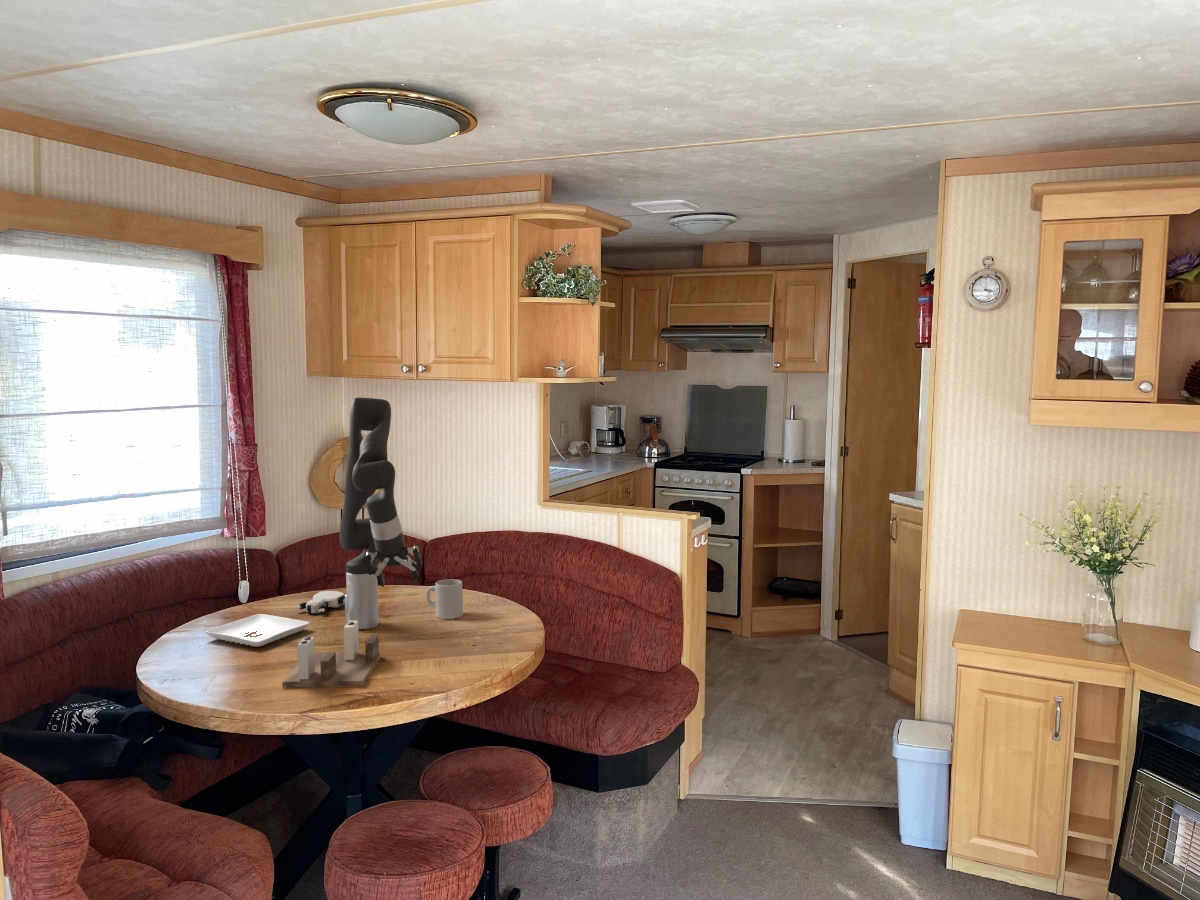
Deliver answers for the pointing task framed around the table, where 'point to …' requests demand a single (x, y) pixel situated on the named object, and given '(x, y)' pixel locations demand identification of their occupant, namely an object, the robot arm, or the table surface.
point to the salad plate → (257, 629)
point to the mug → (447, 598)
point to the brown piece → (339, 668)
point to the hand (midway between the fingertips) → (399, 582)
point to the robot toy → (323, 601)
